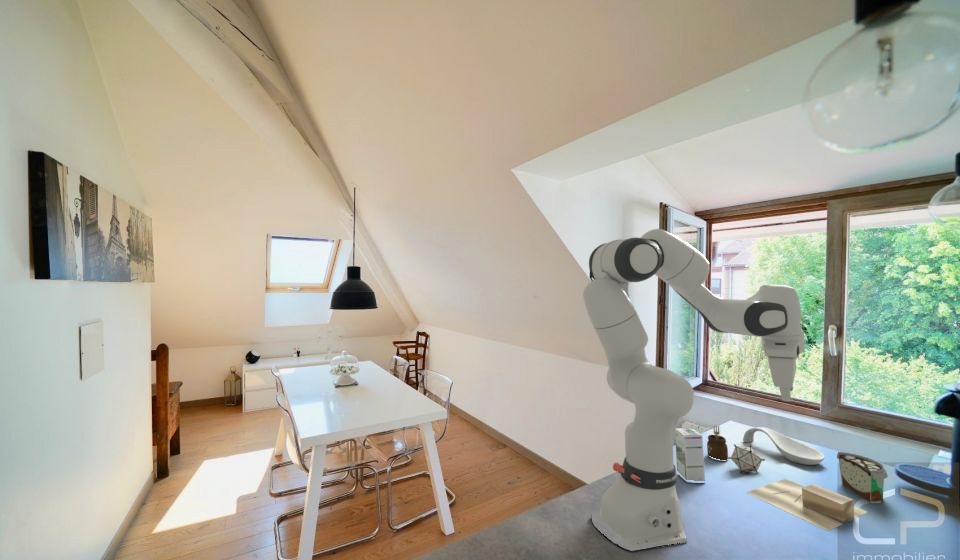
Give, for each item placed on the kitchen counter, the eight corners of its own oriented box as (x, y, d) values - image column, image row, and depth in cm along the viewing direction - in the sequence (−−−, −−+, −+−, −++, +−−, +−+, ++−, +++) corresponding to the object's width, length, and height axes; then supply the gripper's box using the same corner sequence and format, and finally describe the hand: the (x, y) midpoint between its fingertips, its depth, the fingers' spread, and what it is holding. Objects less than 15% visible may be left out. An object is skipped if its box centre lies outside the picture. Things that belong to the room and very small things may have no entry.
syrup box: (706, 483, 107) (703, 434, 108) (686, 484, 107) (683, 434, 108) (695, 474, 113) (692, 427, 114) (676, 474, 113) (673, 427, 114)
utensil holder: (727, 456, 125) (725, 421, 125) (728, 463, 119) (726, 427, 120) (707, 452, 128) (705, 418, 128) (707, 459, 123) (705, 424, 123)
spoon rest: (833, 466, 117) (832, 443, 117) (810, 472, 113) (808, 449, 113) (757, 439, 139) (756, 420, 140) (735, 444, 135) (734, 424, 136)
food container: (904, 513, 91) (901, 473, 92) (875, 510, 93) (873, 471, 93) (863, 487, 103) (861, 452, 104) (838, 486, 105) (836, 450, 105)
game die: (753, 486, 112) (765, 470, 106) (722, 469, 117) (731, 453, 111) (759, 464, 117) (770, 447, 112) (729, 449, 122) (738, 432, 117)
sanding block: (843, 523, 86) (842, 504, 86) (802, 505, 93) (801, 488, 94) (854, 518, 88) (853, 499, 88) (814, 501, 95) (812, 484, 95)
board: (828, 536, 83) (827, 530, 84) (746, 496, 100) (745, 492, 100) (868, 516, 90) (868, 511, 90) (785, 482, 107) (785, 478, 107)
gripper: (771, 337, 107) (776, 383, 107) (763, 350, 92) (768, 404, 92) (799, 337, 102) (804, 386, 102) (796, 352, 88) (801, 409, 88)
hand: (787, 395), depth 97 cm, fingers open, 8 cm apart
